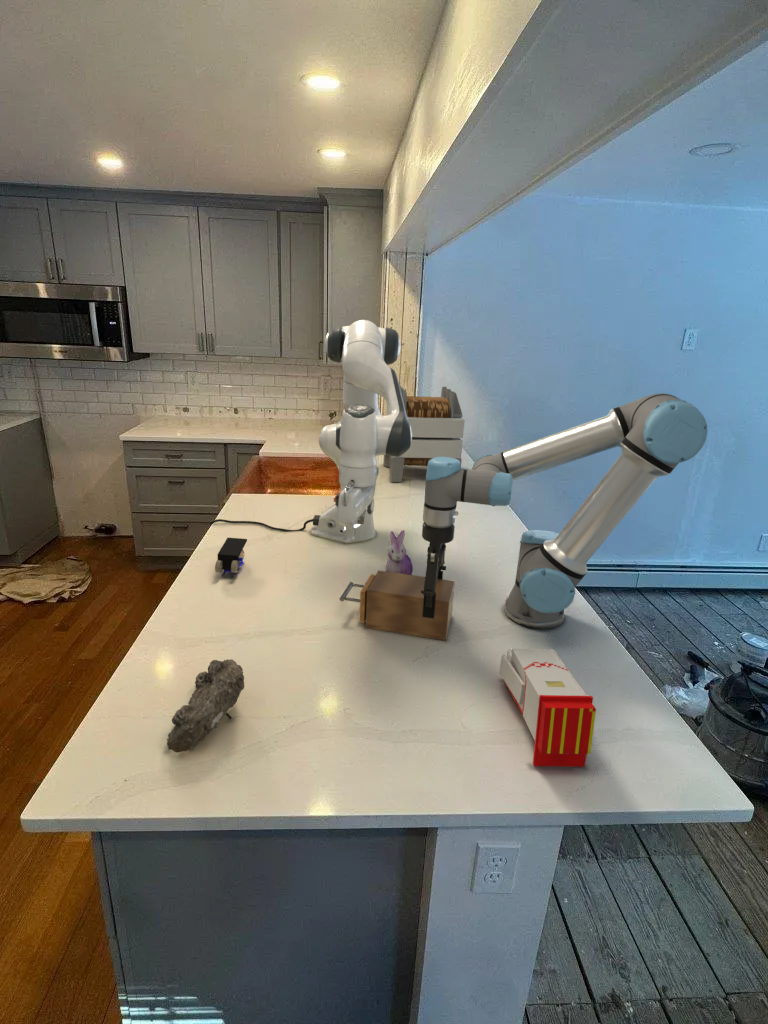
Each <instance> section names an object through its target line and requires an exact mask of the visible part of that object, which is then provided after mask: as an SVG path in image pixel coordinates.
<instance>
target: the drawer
mask: <svg viewBox="0 0 768 1024" xmlns="http://www.w3.org/2000/svg"><path fill="white" fill-rule="evenodd" d="M375 575H376V574H374V573H370V575H369V576H368V578H367V580H366V581H365V583H364V584H360V583H359V584H358V583H354V581H350V582H349V583H348V585H347V586H346V587H345V589H344V591H343V592H342V593H341V595H340V597H339V601H340V602H345V601H348V602H355V603H359V623H363V624H364V623H366V606H367V589H368V587H369V586H370V584H371V582H372V580H373V579H374V577H375ZM353 587H354V588H362V589H361V590H360V592H359V593H360V594H359V598H354V597H348V596H349V594H350V592H351V590H352V589H353Z"/></svg>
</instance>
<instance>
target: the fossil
mask: <svg viewBox="0 0 768 1024" xmlns="http://www.w3.org/2000/svg"><path fill="white" fill-rule="evenodd" d="M243 670H244V669H243V667H242V665H240V664H237V662H236V661H235V660H234V659H232V658H231V659H227V658H226V659H224V660H223V661H222V660H217V659H212V660H211V661H210V663H209V665H208V666H207V671H201V672H199V673H198V674H197V675H196V676H195V680H194V684H195V685H194V687H195V689H194V690H193V693H192V694H191V697H190V698H189V700H188V704H184V705H182V706H181V707H180V709H177V710H176V711H175V713H174V715H173V716H172V718H171V723H172V724H173V727H172V730H171V731H170V732H168V734H167V738H166V741H167V742H166V745H167V749H168V750H169V751H173V752H174V753H176V754H178V753H182V752H188V751H189V752H192V751H193V750H195V748H196V747H197V746H199V744H200V743H201V742H203V741H204V740H205V739H206V738H207V737H208V736H209V735H210V734H211V733H212V732H214V730H215V729H217V727H218V726H219V724H220V722H221V721H222V720H223V719H224V718H225V716H226V717H227V719H229V720H233V717H232V715H230V714H229V710H230V709H231V708H234V706H235V704H236V703H237V702H238V699H239V697H240V695H241V693H242V691H243V690H245V689H244V688H245V675H244V671H243Z"/></svg>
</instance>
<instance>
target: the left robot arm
mask: <svg viewBox="0 0 768 1024" xmlns="http://www.w3.org/2000/svg"><path fill="white" fill-rule="evenodd" d="M401 342H402V341H401V338H400V336H399V333H398V332H397V330H396V329H394V328H391V327H385V328H384V327H381V326H377V324H376V323H374V322H372V321H371V320H368V319H360V320H356V321H354V322H353V323H351V324H350V325H342V324H340V325H339V324H338V325H334V326H331V328H329V329H328V332H327V334H326V336H325V339H324V348H325V352H326V355H327V357H328V359H329V360H330V361H332V362H335V363H338V364H341V365H342V366H341V367H342V372H343V385H342V404H343V406H344V407H345V408H343V411H342V413H341V418H340V419H339V420H338V421H337V422H336V423H331V424H327V425H324V427H322V429H321V430H320V432H319V435H318V444H319V447H320V450H321V451H322V452H323V454H325V455H326V456H327V457H329V458H330V459H331V460H332V462H333V463H334V464H335V466H336V467H337V470H338V483H339V485H340V488H339V489H340V490H339V491H338V492H337V494H336V495H335V496H334V497H333V502H334V504H333V505H331V506H329V507H328V508H326V509H325V510H323V512H321V514H315V515H314V516H313V518H311V519H308V520H306V521H305V522H304V523H303V527H301V528H299V529H288V528H281V527H274V526H271V525H268V524H267V523H264V522H260V521H253V520H229V519H222V518H221V519H220V518H218V519H214V520H212V521H211V522H210V523H209V525H214V524H215V523H220V522H221V523H228V524H253V525H260V526H263V527H265V528H268V529H270V530H272V531H273V530H274V531H278V532H279V531H280V532H286V533H287V532H302V531H304V530H306V528H307V525H308V524H309V523H312V528H311V530H310V533H311V536H315V537H319V538H323V539H326V540H330V541H336V542H339V543H343V544H352V543H357V542H365V541H368V540H372V539H373V538H375V537H376V535H377V532H376V528H375V523H374V513H373V512H374V509H375V495H376V494H375V493H376V485H377V477H378V476H379V474H380V473H379V471H380V470H379V469H380V468H379V467H378V466H377V463H378V462H377V458H376V457H380V456H384V455H387V456H395V457H399V456H401V455H402V454H404V453H405V452H406V451H407V450H409V448H410V446H411V442H412V430H411V427H410V424H409V420H408V417H407V415H406V411H405V407H404V402H403V398H402V394H401V389H400V386H401V385H400V382H399V379H398V375H397V373H396V371H395V369H393V367H390V366H389V365H392V364H394V363H396V361H398V358H399V356H400V353H401V348H402V343H401ZM379 396H381V397H382V398H383V399H384V400H385V403H386V409H387V408H388V413H389V415H384V414H383V415H382V414H381V411H380V408H379V407H380V406H379Z"/></svg>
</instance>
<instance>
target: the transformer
mask: <svg viewBox="0 0 768 1024" xmlns="http://www.w3.org/2000/svg"><path fill="white" fill-rule="evenodd" d="M400 389H401V394H402V398H403V402H404V407H405V411H406V415H407V417H408V420H409V424H410V427H411V430H412V442H411V446H410V448H409V450H407V451H406V452H405V453H404V454H402V455H401V456H399V457H395V456H387V455H383V466H384V467H388V468H389V475H388V476H389V477H388V478H389V480H390V482H391V483H402V482H403V475H404V469H405V466H406V467H407V466H411V467H412V466H413V467H415V466H416V467H417V466H418V467H427V466H428V462H429V461H430V459H432V458H435V457H450V458H455V459H457V460H459V461H460V466H461V467H462V461H463V460H462V453H463V442H464V441H463V440H462V439H463V438H464V431H465V430H464V429H465V419H464V418H463V411H462V408H461V405H460V402H459V398H458V395H457V392H455V391H453V390H452V389H451V388H447V386H442V387H441V392H440V393H441V394H440V396H415V395H414V396H413V395H412V396H411V395H407V394H408V393H407V390H406V389H404V388H403V387H402V385H400ZM385 414H386V415H389V413H388V408H387V407H386V413H385ZM386 415H385V416H386Z"/></svg>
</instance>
